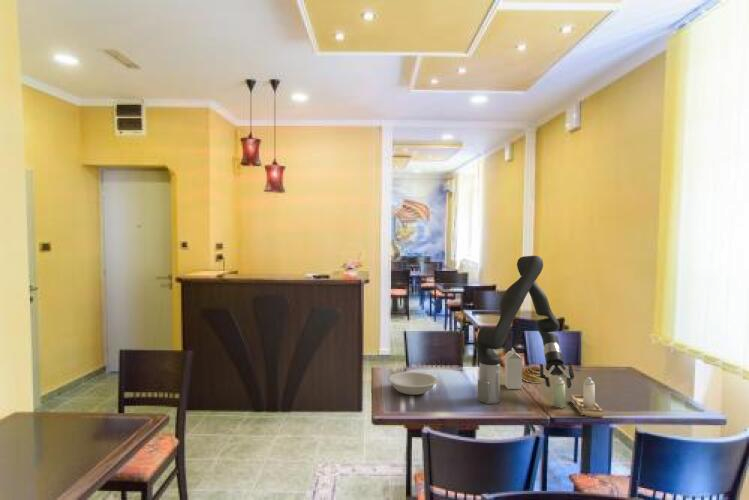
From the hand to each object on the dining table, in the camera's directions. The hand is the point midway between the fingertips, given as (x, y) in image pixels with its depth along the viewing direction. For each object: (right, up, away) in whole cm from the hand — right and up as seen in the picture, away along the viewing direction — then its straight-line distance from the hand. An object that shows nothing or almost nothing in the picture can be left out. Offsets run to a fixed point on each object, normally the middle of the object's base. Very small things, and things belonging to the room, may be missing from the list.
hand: (559, 386), depth 198 cm
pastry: (+2, -8, +39) cm, 40 cm away
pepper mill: (0, -8, -1) cm, 8 cm away
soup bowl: (-63, -8, +17) cm, 66 cm away
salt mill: (+9, -6, -8) cm, 14 cm away
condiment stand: (+10, -8, -4) cm, 14 cm away
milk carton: (-12, -8, +26) cm, 30 cm away
